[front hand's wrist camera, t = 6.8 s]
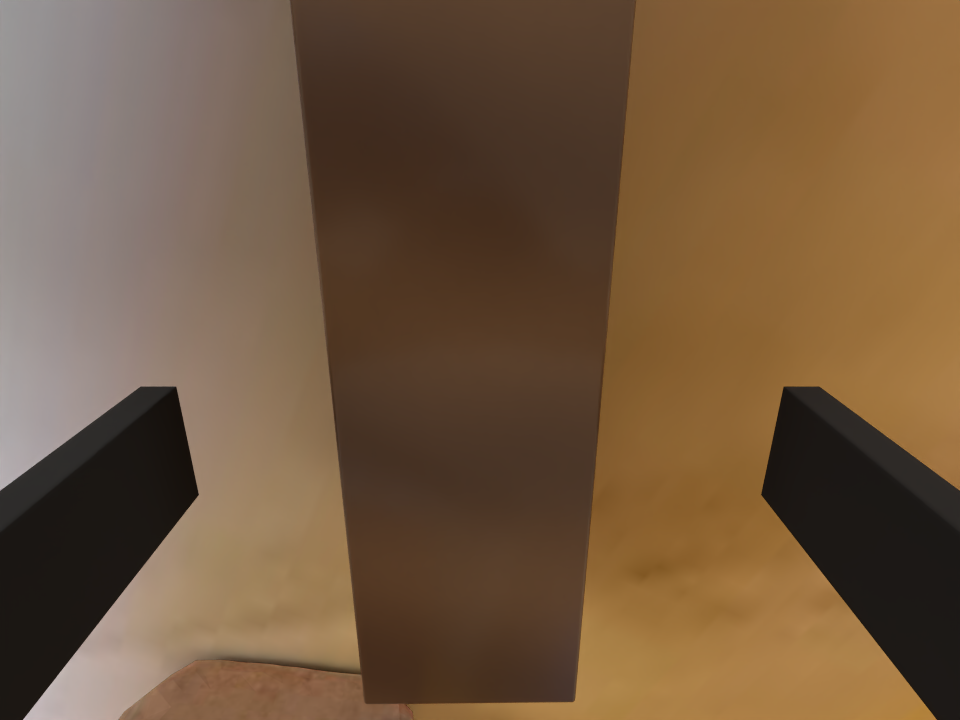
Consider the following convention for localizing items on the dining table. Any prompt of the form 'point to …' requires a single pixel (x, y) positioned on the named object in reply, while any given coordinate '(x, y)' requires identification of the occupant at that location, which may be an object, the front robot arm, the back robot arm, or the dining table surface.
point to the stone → (259, 695)
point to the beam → (465, 323)
